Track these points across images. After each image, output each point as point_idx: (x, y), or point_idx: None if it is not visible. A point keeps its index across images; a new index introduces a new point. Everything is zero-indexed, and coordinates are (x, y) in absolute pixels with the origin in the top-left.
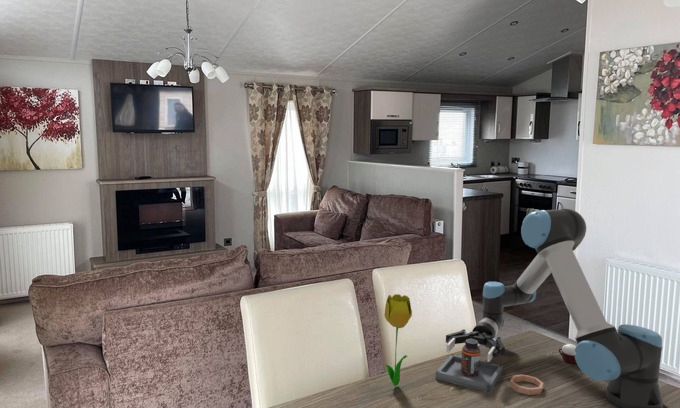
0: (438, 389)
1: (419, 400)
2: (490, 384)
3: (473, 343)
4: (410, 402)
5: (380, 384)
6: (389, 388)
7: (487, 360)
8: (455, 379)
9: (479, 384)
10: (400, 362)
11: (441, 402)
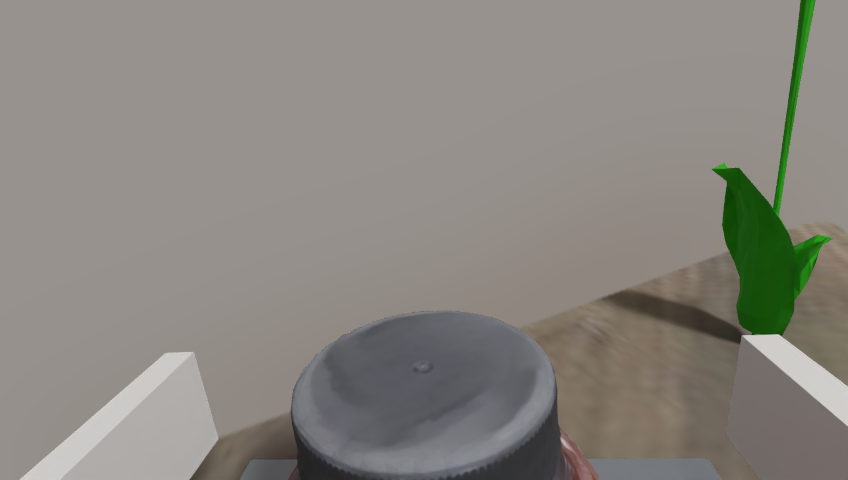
0: (574, 403)
1: (579, 316)
2: (248, 472)
3: (375, 323)
4: (595, 300)
5: (824, 329)
6: None
7: (213, 427)
8: None
9: None
10: (743, 205)
11: None
